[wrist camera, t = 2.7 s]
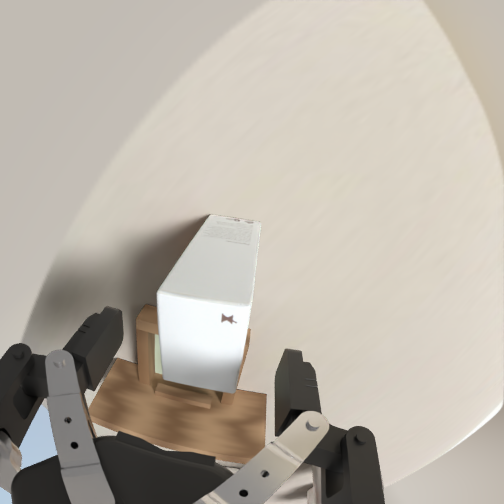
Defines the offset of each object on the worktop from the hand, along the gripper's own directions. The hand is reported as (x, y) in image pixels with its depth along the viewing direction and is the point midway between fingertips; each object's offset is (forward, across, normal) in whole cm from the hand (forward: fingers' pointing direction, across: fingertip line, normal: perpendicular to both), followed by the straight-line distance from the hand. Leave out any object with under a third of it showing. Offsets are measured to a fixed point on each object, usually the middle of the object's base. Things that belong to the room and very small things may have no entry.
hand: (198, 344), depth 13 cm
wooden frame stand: (+12, +2, +13) cm, 17 cm away
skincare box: (+12, 0, 0) cm, 12 cm away
